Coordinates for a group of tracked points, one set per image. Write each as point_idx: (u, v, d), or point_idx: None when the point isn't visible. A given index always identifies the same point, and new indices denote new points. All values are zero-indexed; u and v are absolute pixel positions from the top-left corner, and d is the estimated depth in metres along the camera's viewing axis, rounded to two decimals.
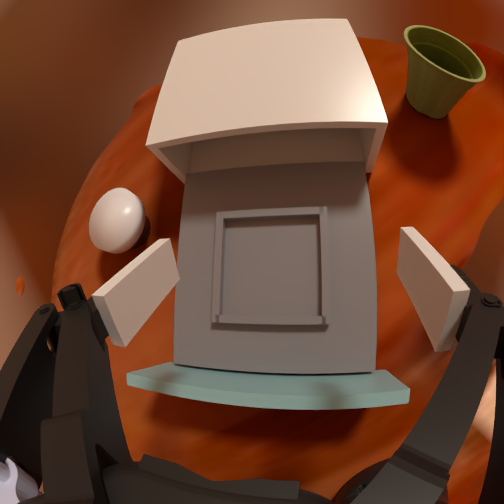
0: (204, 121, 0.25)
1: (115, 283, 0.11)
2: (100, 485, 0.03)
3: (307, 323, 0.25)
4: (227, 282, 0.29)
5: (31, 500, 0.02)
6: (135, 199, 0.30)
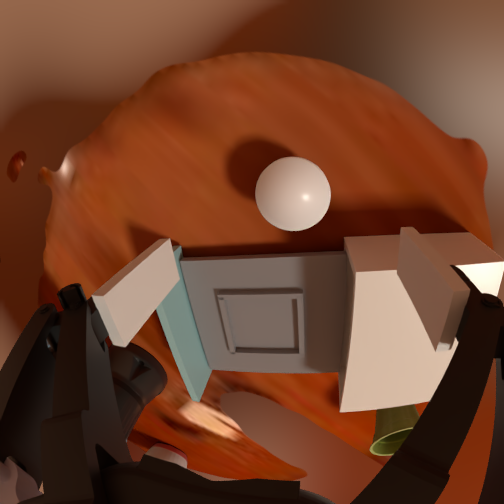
0: (366, 323, 0.28)
1: (115, 283, 0.11)
2: (101, 485, 0.03)
3: (229, 346, 0.41)
4: None
5: (31, 500, 0.02)
6: None
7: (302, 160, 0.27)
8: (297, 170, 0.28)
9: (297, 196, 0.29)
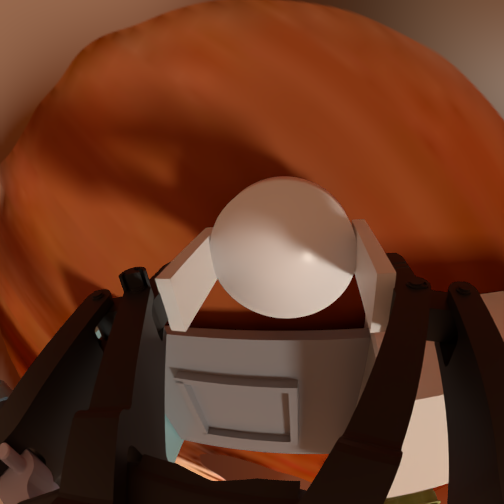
0: None
1: (178, 267, 0.12)
2: (101, 485, 0.03)
3: (199, 427, 0.28)
4: None
5: (31, 500, 0.02)
6: None
7: (303, 188, 0.13)
8: (292, 209, 0.14)
9: (291, 260, 0.15)
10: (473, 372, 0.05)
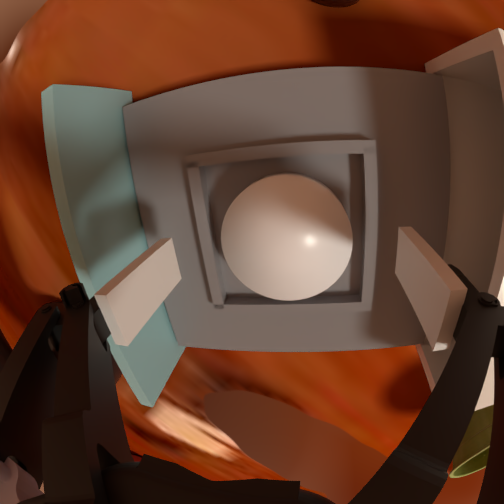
0: None
1: (117, 282, 0.11)
2: (100, 485, 0.03)
3: (211, 288, 0.20)
4: (254, 165, 0.17)
5: (31, 500, 0.02)
6: None
7: (304, 182, 0.15)
8: (295, 200, 0.15)
9: (294, 246, 0.17)
10: None
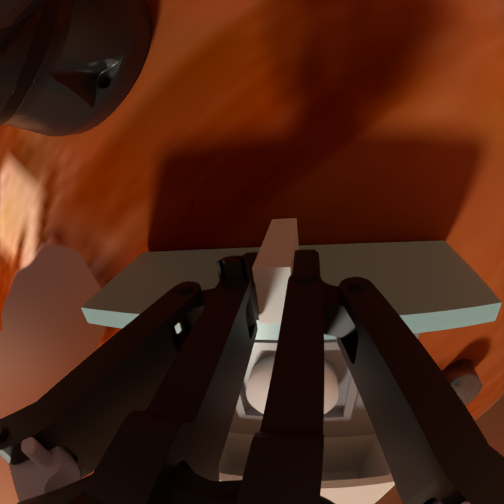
0: (338, 491, 0.20)
1: (271, 256, 0.12)
2: (101, 485, 0.03)
3: None
4: (345, 368, 0.21)
5: (31, 500, 0.02)
6: None
7: (332, 406, 0.21)
8: None
9: None
10: (382, 368, 0.06)
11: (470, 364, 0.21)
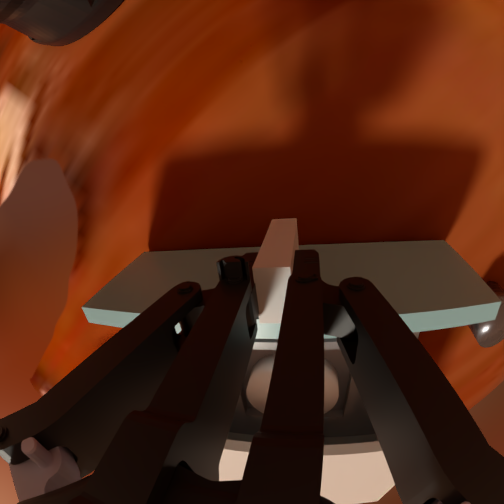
0: (353, 461, 0.16)
1: (271, 256, 0.12)
2: (100, 485, 0.03)
3: None
4: (346, 368, 0.21)
5: (31, 500, 0.02)
6: None
7: (332, 405, 0.21)
8: None
9: None
10: (382, 368, 0.06)
11: (500, 287, 0.17)
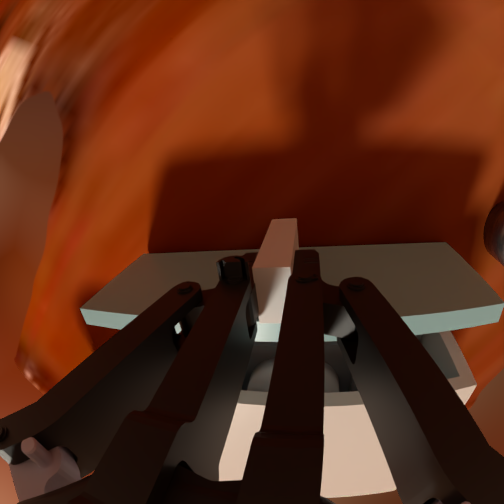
0: None
1: (271, 256, 0.12)
2: (101, 485, 0.03)
3: None
4: (347, 372, 0.21)
5: (31, 500, 0.02)
6: None
7: None
8: None
9: None
10: (382, 368, 0.06)
11: None
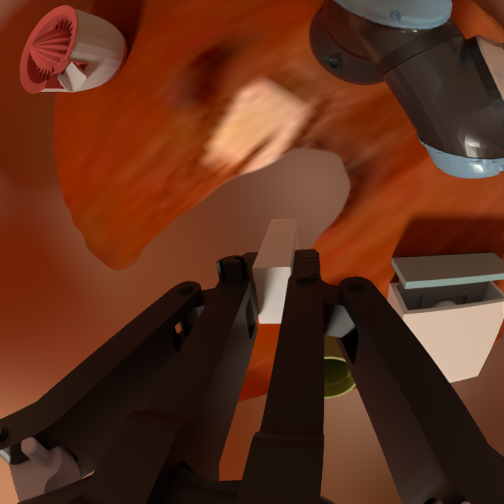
0: (484, 312, 0.35)
1: (271, 256, 0.12)
2: (100, 485, 0.03)
3: (433, 295, 0.42)
4: None
5: (31, 500, 0.02)
6: None
7: None
8: None
9: None
10: (382, 368, 0.06)
11: None
